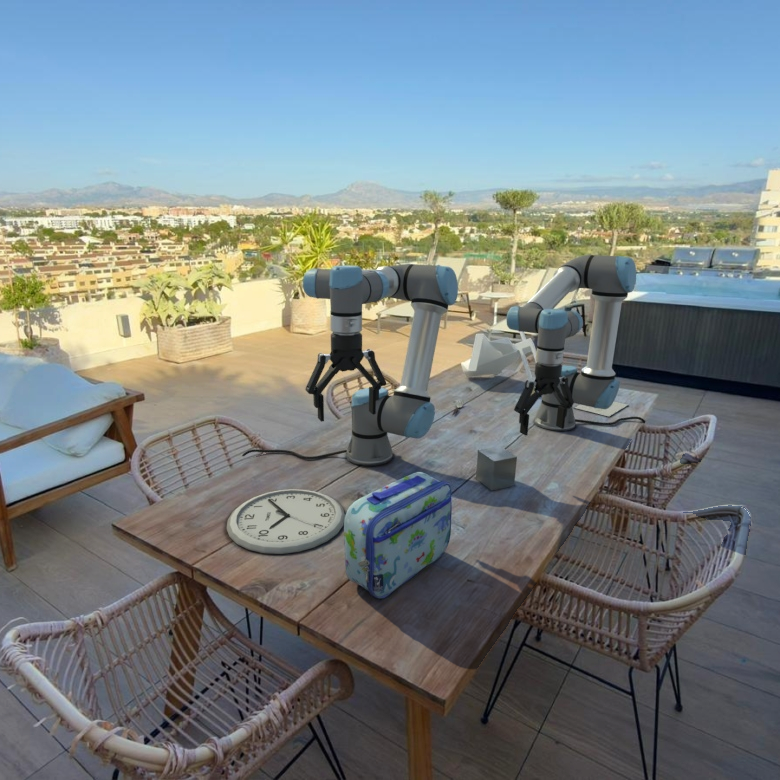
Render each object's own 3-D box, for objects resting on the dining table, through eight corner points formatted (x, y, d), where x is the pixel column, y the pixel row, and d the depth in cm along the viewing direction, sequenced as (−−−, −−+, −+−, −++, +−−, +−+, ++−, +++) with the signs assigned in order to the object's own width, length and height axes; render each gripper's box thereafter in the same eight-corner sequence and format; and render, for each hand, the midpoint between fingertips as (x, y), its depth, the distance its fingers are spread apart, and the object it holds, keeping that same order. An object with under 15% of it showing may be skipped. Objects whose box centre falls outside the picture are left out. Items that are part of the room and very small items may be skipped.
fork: (449, 415, 212) (449, 411, 211) (458, 403, 226) (458, 399, 226) (455, 416, 211) (455, 411, 211) (464, 404, 225) (464, 400, 225)
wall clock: (345, 545, 122) (213, 550, 119) (345, 551, 122) (214, 556, 120) (344, 484, 150) (238, 487, 148) (345, 490, 151) (239, 492, 148)
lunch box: (372, 611, 103) (373, 518, 97) (338, 585, 111) (336, 497, 104) (455, 557, 121) (460, 475, 115) (420, 537, 128) (424, 459, 122)
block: (475, 478, 160) (477, 450, 157) (497, 473, 163) (499, 446, 160) (491, 490, 152) (494, 461, 149) (514, 485, 155) (517, 456, 153)
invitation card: (608, 416, 214) (573, 407, 224) (608, 416, 214) (573, 408, 224) (628, 404, 229) (594, 396, 238) (628, 405, 229) (594, 397, 238)
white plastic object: (482, 418, 266) (461, 395, 241) (463, 346, 288) (443, 318, 264) (553, 394, 254) (538, 368, 229) (528, 321, 276) (512, 289, 251)
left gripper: (299, 339, 116) (302, 427, 123) (400, 331, 126) (398, 414, 132) (290, 332, 123) (294, 417, 129) (387, 326, 133) (386, 405, 139)
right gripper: (521, 370, 144) (515, 441, 151) (591, 361, 154) (582, 428, 160) (505, 364, 151) (500, 432, 158) (573, 355, 160) (566, 420, 167)
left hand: (347, 416), depth 131 cm, fingers open, 13 cm apart
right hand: (542, 430), depth 159 cm, fingers open, 13 cm apart
